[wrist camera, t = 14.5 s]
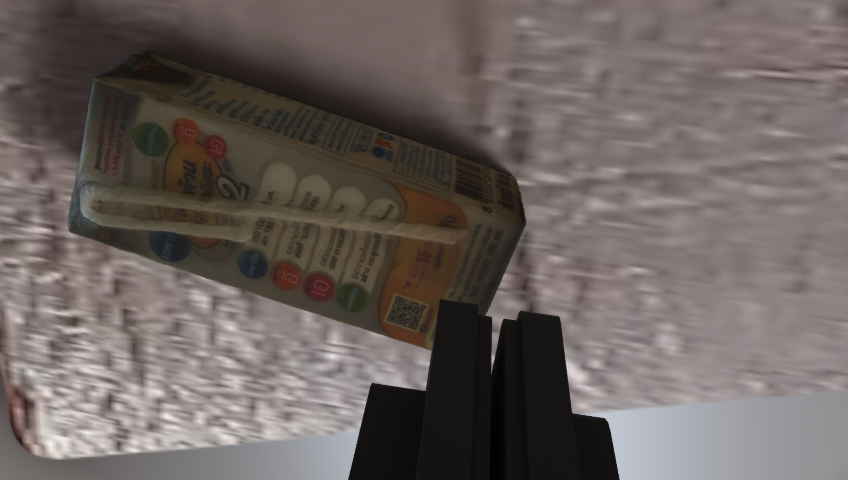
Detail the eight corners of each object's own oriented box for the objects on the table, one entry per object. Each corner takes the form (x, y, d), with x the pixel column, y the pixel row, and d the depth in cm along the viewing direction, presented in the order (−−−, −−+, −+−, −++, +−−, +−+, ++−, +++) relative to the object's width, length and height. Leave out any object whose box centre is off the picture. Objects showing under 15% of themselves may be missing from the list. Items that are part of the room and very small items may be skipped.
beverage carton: (141, 36, 36) (78, 72, 30) (526, 169, 38) (540, 228, 32) (114, 186, 39) (53, 245, 33) (469, 300, 41) (471, 375, 35)
